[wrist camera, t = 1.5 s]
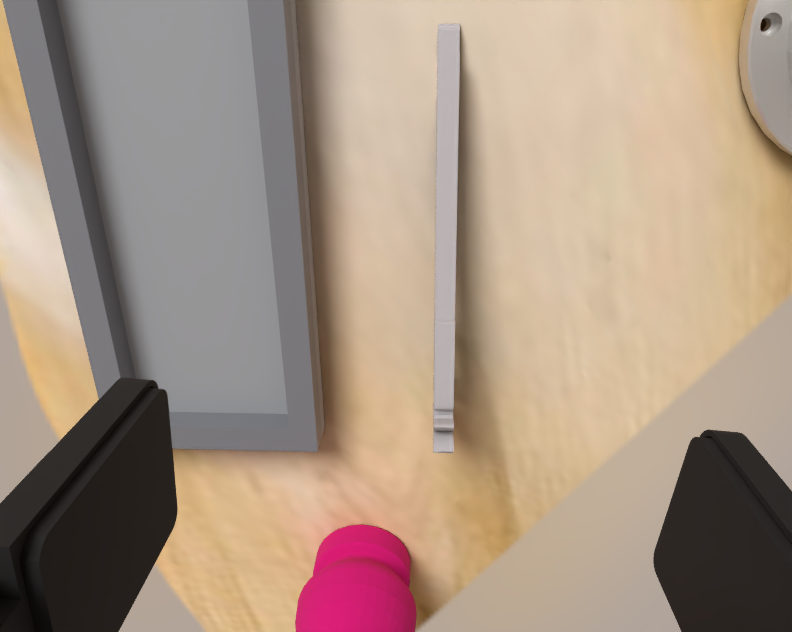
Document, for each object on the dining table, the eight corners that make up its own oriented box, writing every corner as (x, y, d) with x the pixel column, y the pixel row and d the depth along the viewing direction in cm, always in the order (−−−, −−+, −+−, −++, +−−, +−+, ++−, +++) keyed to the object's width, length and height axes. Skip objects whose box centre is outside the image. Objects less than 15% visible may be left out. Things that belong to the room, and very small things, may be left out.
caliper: (451, 407, 36) (454, 475, 30) (432, 406, 36) (433, 474, 30) (459, 23, 28) (467, 16, 22) (436, 24, 28) (437, 17, 22)
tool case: (287, -112, 26) (273, -128, 23) (324, 426, 36) (317, 451, 34) (13, -104, 26) (-27, -119, 24) (130, 422, 37) (110, 447, 35)
